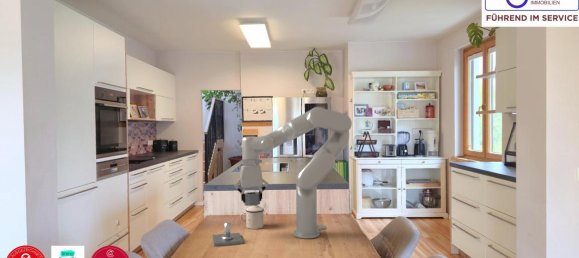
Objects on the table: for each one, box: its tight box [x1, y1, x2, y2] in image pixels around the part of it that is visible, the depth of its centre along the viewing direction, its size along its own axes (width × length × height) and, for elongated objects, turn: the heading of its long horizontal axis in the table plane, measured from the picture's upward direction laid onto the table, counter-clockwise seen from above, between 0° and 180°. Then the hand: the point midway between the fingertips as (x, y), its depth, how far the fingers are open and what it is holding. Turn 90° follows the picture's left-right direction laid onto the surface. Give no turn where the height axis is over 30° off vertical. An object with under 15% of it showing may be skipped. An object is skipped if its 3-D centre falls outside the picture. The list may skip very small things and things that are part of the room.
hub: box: [244, 191, 261, 207], centre depth 152 cm, size 7×7×5 cm
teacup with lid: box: [239, 205, 265, 230], centre depth 165 cm, size 12×9×12 cm
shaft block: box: [212, 221, 244, 247], centre depth 144 cm, size 12×12×8 cm
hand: (251, 201), depth 152 cm, fingers closed on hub, 6 cm apart
